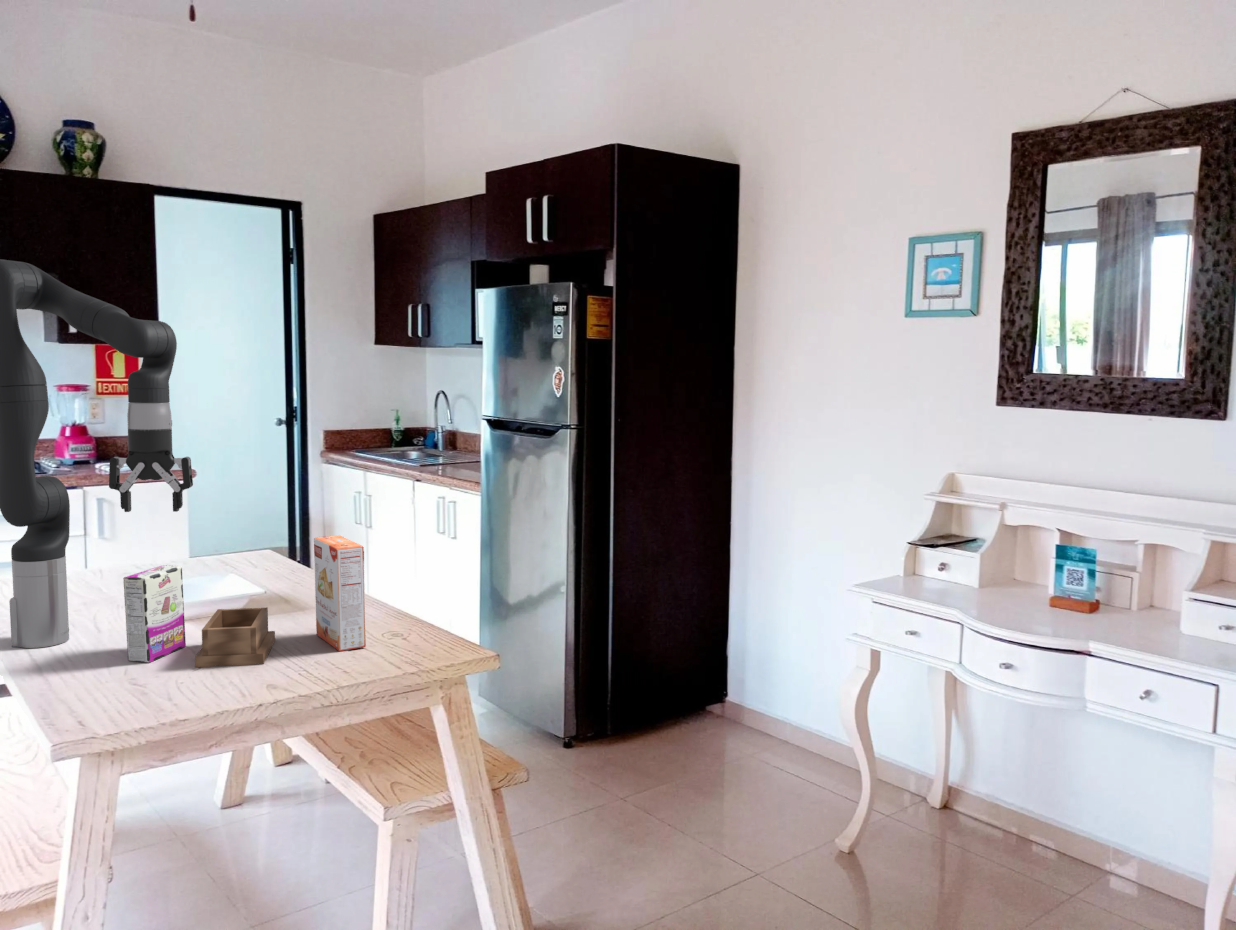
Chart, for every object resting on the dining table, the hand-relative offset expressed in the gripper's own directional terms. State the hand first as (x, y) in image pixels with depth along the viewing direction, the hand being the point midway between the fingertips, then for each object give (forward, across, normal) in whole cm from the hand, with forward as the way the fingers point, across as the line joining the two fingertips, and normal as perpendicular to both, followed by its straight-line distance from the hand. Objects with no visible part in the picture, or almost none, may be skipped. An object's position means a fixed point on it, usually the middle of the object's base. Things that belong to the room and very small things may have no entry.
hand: (152, 511), depth 185 cm
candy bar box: (+28, 0, 0) cm, 28 cm away
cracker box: (+28, +34, +3) cm, 44 cm away
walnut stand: (+28, +15, -2) cm, 32 cm away
